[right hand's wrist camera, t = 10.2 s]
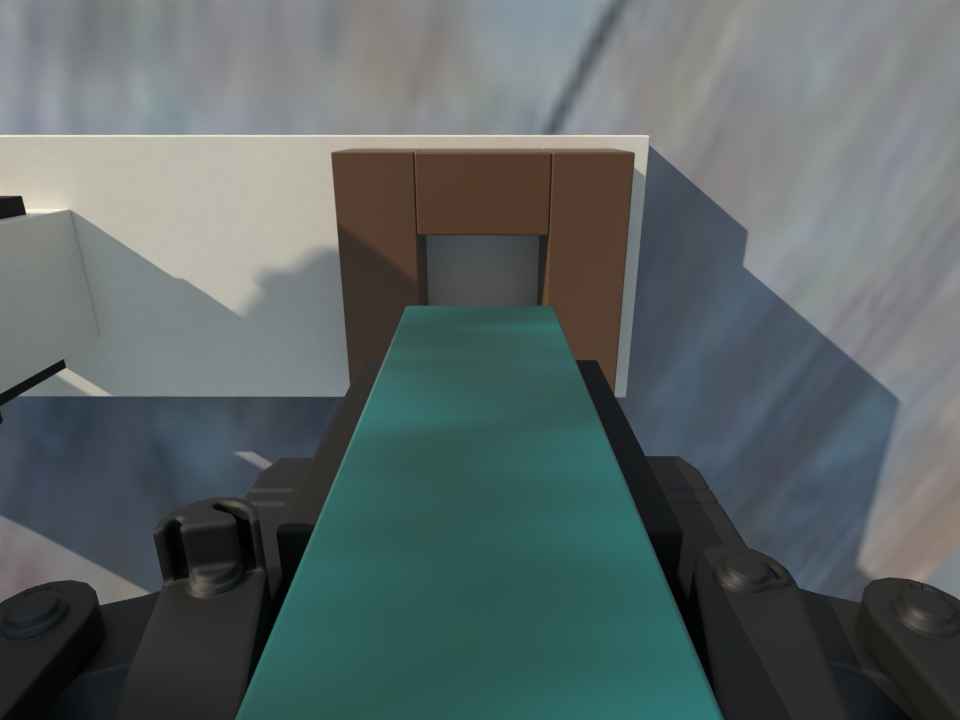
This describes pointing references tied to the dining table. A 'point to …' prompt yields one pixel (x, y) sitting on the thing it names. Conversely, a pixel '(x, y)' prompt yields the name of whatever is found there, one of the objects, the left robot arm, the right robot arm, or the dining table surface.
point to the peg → (479, 550)
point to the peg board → (301, 253)
